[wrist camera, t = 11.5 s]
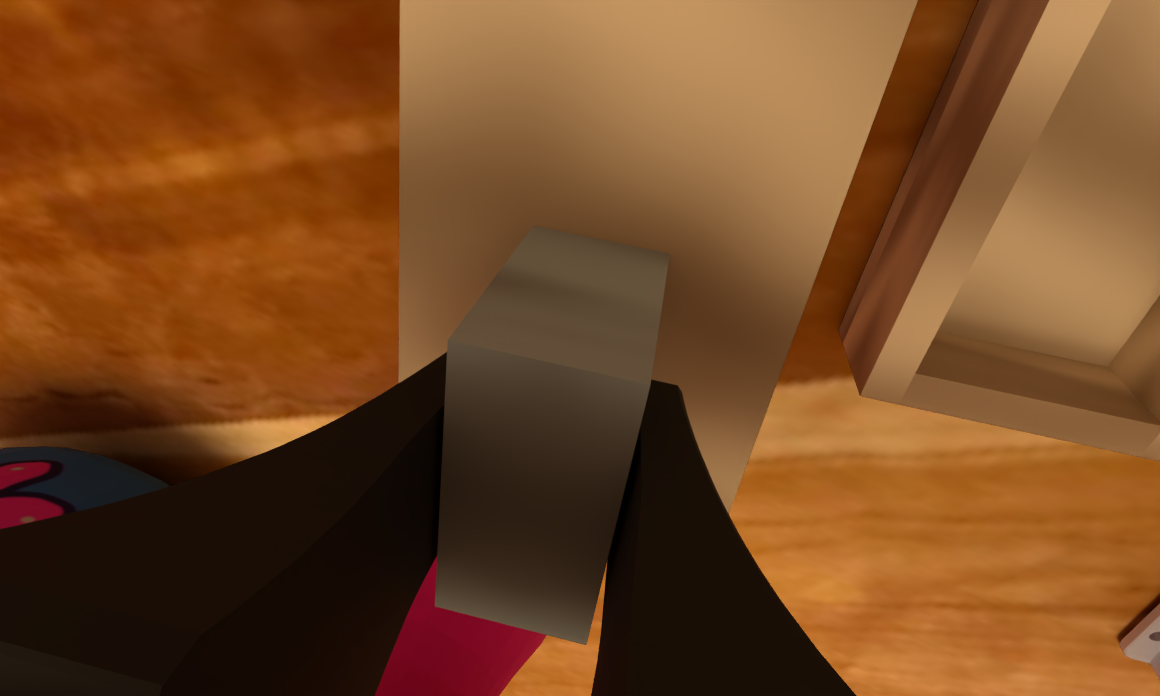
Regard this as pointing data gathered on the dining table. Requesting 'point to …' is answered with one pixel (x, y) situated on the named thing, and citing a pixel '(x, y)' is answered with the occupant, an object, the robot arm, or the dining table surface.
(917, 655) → the dining table surface
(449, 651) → the pepper mill
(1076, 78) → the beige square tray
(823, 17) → the lid
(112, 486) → the ceramic pot
